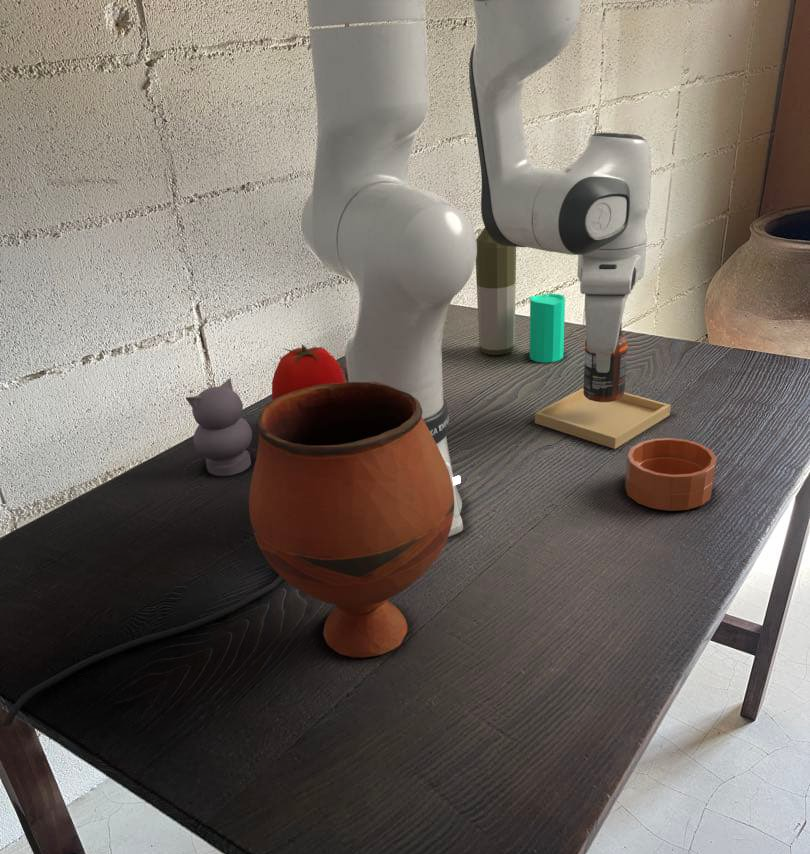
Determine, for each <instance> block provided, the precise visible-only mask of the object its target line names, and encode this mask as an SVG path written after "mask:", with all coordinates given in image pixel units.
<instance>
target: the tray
mask: <svg viewBox="0 0 810 854" xmlns="http://www.w3.org/2000/svg"><path fill="white" fill-rule="evenodd" d="M583 388H584V387H582V388H579V389H577V390H576V391H575V392H572V393H570V394H568V395H567V396H565V397H563V398H561V399H558V400H557V401H555V402H553V403H551V404H549V405H547V406H545V407H544V408H542V409H540V410H537V411H535V413H534V424H536V425H539V426H543V427H546V428H548V429H552V430H555V431H558V432H562V433H564V434H567V435H570V436H573V437H576V438H580V439H582V440H586V441H589V442H592V443H595V444H597V445H601V446H605V447H608V448H610V449H613V450H616V449H617V448H619V447H620V446H622V445H623V444H626V443H627V442H629V441H631V440H632V439H634V438H635V437H637V436H639V435H640V434H642V433H643V432H645V431H647V430H648V429H650V428H652V427H653V426H655V425H656V424H658V423H659V422H661V421H664V419H667V418H668V417H669V416H670V415H671V408H672V407H671V406H672V405H671V404H668V403H665V402H662V401H658V400H654V399H650V398H648V397H647V398H646V397H642V396H639V395H637V394H636V395H635V394H632V393H628V392H625V391H624V395H623V396H622V397H621V398H620V399H618V400H616V401H612V402H596V401H592V400H589V399H588V398H586V397H585V396H584V389H583Z"/></svg>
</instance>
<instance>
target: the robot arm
mask: <svg viewBox="0 0 810 854" xmlns="http://www.w3.org/2000/svg"><path fill="white" fill-rule="evenodd" d="M581 2H582V1H581V0H471V3H472V8H473V15H474V23H475V24H474V26H475V42H474V44H473V46H472V48H471V50H470V54H469V60H468V61H469V63H468V77H469V90H470V98H471V106H472V107H471V108H472V114H473V122H474V129H475V135H476V136H475V137H476V144H477V151H478V157H479V165H480V173H481V174H480V175H481V177H480V178H481V194H480V212H481V213H480V214H481V219H482V223H483V226H484V228H486V230H487V232H488V234H489V235H490V237H491V238H492V239H493V240H494V241H495V242H497V243H498V244H500V245H503V246H512V247H516V248H530V249H534V250H538V251H539V250H540V251H544V252H549V253H558V254H564V255H570V256H577V279H578V280H579V284H580V286H579V288H580V291H579V293H580V294H581V295H584V321H585V323H584V325H585V341H586V342H587V348H588V351H589V352H590V353H596V360H597V364H596V370H597V372H600V373H607V372H609V369H610V358H611V353H614V352H615V349H616V346H617V341H618V337H619V331H620V326H621V321H622V322H623V317H624V312H625V307H626V302H627V299H628V297H629V295H630V294H632V291H633V290H634V286H635V285H636V284H637V283H638V282H639V281H640V280H642V279H643V278H644V277H645V276H644V275H645V265H646V254H647V253H646V252H647V241H648V239H647V238H648V237H647V232H646V219H647V218H646V217H647V214H648V211H649V210H650V205H651V204H650V203H651V189H652V188H651V187H652V158H651V150H650V145H649V143H648V140H646V139H645V138H644V137H643V136H640V135H638V134H632V133H618V132H605V131H603V132H602V131H601V132H596V133H594V134H591V135H589V137H588V139H587V142H586V146H585V149H584V151H582V154H580V156H579V157H577V159H576V160H575V161H574V162H572V163H571V164H569V165H567V166H566V167H565V168H564V169H554V168H553V169H552V168H543V167H539V166H537V165H536V164H535V163H533V162H532V160H531V159H530V158H529V156H528V154H527V149H526V139H525V138H526V136H525V127H524V116H523V105H522V93H523V89H524V85H525V83H526V82H527V79H528V78H530V77H531V76H533V75H535V74H537V73H538V72H539V71H541V70H543V69H544V68H545V67H547V66H548V65H549V64H551V63H552V62H554V61H555V60H556V59H557V58H558V57H559V56H560V55H562V53H563V52H564V50H565V49H566V48H567V47H568V45H569V44H570V42H571V40H572V39H573V37H574V34H575V32H576V30H577V28H578V25H579V23H580V19H581V5H582V3H581ZM306 9H307V18H308V20H307V21H308V27H309V28H310V29H309V39H310V49H311V60H312V71H313V79H314V90H315V100H316V109H317V110H316V113H317V116H316V118H317V119H316V120H317V136H316V148H315V149H316V151H315V161H314V172H313V180H312V190H311V193H310V194H309V196H308V198H307V199H306V202H305V204H304V205H303V209H302V213H301V225H300V226H301V233H302V237H303V240H304V242H305V244H306V246H307V248H308V249H309V252H311V253H312V255H313V256H314V257H315V258H316V259H317V260H318V261H319V262H320V263H321V264H322V266H324V268H326V269H327V270H328V272H330V273H332V274H334V275H335V276H337V277H339V278H343V279H344V280H346V281H350V282H351V283H354V285H355V287H356V289H357V293H358V311H357V319H356V325H355V329H354V332H353V333H352V334H351V335H350V336H349V338H348V339H347V341H346V344H345V347H344V357H345V364H346V367H347V375H348V382H378V383H382V384H385V385H389V386H391V387H394V388H396V389H398V390H401V391H403V392H406V393H408V394H410V395H412V396H413V397H414V398H416V399H417V400H418V401H419V403H420V405H421V408H422V411H423V412H422V418H423V420H424V422H425V423H426V425H427V427H428V429H429V431H430V433H431V435H432V437H433V439H434V441H435V442H436V444H437V446H438V448H439V450H440V452H441V454H442V457H443V459H444V462H445V464H446V466H447V469H448V471H449V475H450V479H451V482H452V486H453V492H454V514H453V521H452V525H451V530H450V533H449V536H448V538H451V537H452V536H455V535H457V534H459V533H461V532H462V531H463V530H464V524H463V519H462V516H461V512H462V508H463V500H462V498H461V496H460V493H459V490H458V487H457V485H459V484H461V475H456V476H454V473H453V472H454V471H453V467H452V461H451V457H450V451H449V446H448V438H447V435H448V434H449V432H450V422H449V421H450V417H449V416H450V415H449V409H448V408H449V407H448V402H447V400H446V399H445V398H444V385H443V384H444V381H443V380H444V379H443V335H444V329H445V324H446V319H447V316H448V312H449V309H450V305H451V302H452V301H453V299H454V297H455V296H456V295H458V294H459V293H461V291H462V289H463V288H465V286H466V285H467V283H468V281H469V280H470V278H471V276H472V274H473V271H474V268H475V267H476V256H477V241H476V239H477V236H476V232H475V229H474V226H473V225H472V223H471V220H469V218H468V217H467V215H466V214H465V213H464V212H463V211H461V209H459V208H458V207H456V206H455V205H454V204H452V203H451V202H450V201H448V200H446V199H444V197H442V196H440V195H439V194H437V193H435V192H432V191H430V190H427V189H423V188H418V187H413V186H409V180H408V178H409V177H408V176H409V166H410V159H411V153H412V150H413V145H414V142H415V138H416V136H417V133H418V132H419V130H420V129H421V127H422V126H423V125H424V123H425V121H426V119H427V118H428V115H429V111H430V83H429V62H428V38H427V37H428V36H427V35H428V33H427V21H426V20H421V19H426V18H427V14H426V0H306ZM407 20H408V21H407ZM409 20H417V21H409ZM394 21H396V22H394ZM397 21H402V22H397ZM380 22H382V23H380ZM383 22H389V23H383ZM367 23H373V24H367ZM374 23H377V24H374ZM355 24H363V25H355ZM340 25H342V26H340ZM343 25H350V26H343ZM325 26H328V27H325ZM329 26H333V27H329ZM334 26H336V27H334ZM313 27H314V28H313ZM315 27H322V28H315ZM323 27H324V28H323ZM283 580H284V579H283V578H282V577H281V576H280V575H279V574H278V576H277V577H276V578H275V579H274V580H273V581H272V582H271V583H269V584H268V585H266V586H264V587H262V588H261V589H258V590H256V591H255V592H252V593H251V594H250V595H247V596H246V597H244V598H243V599H241V600H239V601H237V602H235V603H233V604H232V605H230V606H228V607H226V608H223V609H221V610H218V611H217V612H214V613H212V614H209V615H206V616H204V617H201V618H199V619H196V620H194V621H191V622H189V623H185V624H182V625H179V626H176V627H173V628H169V629H166V630H162V631H158V632H155V633H152V634H148V635H144V636H142V637H138V638H135V639H132V640H130V641H127V642H124V643H122V644H119V645H116V646H114V647H111V648H109V649H106V650H104V651H101V652H99V653H96V654H93V655H91V656H90V657H87V658H85V659H83V660H81V661H79V662H77V663H74V664H73V665H71V666H70V667H68V668H66V669H64V670H62V671H60V672H59V673H57V674H55V675H54V676H52V677H50V678H48V679H45V680H44V681H42V682H41V683H38V684H36V685H35V686H33V687H32V688H30V689H29V690H27V691H26V692H25V693H24V694H22V695H21V696H20V697H19V698H18V700H17V701H15V703H14V704H13V706H12V707H11V708H10V710H9V711H8V713H7V715H6V716H5V719H4V721H3V724H2V726H3V727H4V728H6V727H8V726H10V725H12V724H13V721H14V719H15V717H16V716H17V714H18V712H19V711H20V710H21V709H22V707H23V706H24V705H25V704H26V703H27V702H28V701H29V700H30V699H32V698H33V697H34V696H36V695H37V694H39V693H41V692H43V691H44V690H46V689H48V688H49V687H51V686H54V685H55V684H57V683H59V682H60V681H63V680H65V679H66V678H68V677H69V676H71V675H73V674H75V673H76V672H78V671H80V670H83V669H84V668H87V667H88V666H90V665H92V664H95V663H97V662H100V661H102V660H104V659H106V658H110V657H111V656H114V655H117V654H120V653H122V652H125V651H128V650H131V649H133V648H136V647H138V646H141V645H144V644H147V643H150V642H154V641H158V640H161V639H165V638H168V637H172V636H175V635H178V634H181V633H185V632H188V631H190V630H193V629H196V628H198V627H201V626H203V625H206V624H208V623H212V622H213V621H216V620H219V619H221V618H223V617H225V616H228V615H230V614H232V613H234V612H235V611H238V610H240V609H241V608H243V607H245V606H247V605H248V604H250V603H252V602H253V601H255V600H257V599H258V598H261V597H262V596H265V595H266V594H268V593H269V592H271V591H272V590H273V589H275V587H276V586H278V585H279V584H280V583H281V582H282V581H283ZM12 802H13V805H14V808H15V809H14V810H15V811H16V815H17V817H18V821H19V823H20V826H21V829H22V831H23V833H24V836H25V838H26V840H27V843H28V845H29V846H30V849H31V851H32V853H33V854H43V851H42V850H41V848H40V846H39V844H38V842H37V840H36V838H35V835H34V833H33V830H32V827H31V825H30V822H29V820H28V818H27V817H26V815H25V814H24V813H23V811H22V810H21V808H20V807H19V805H18V804H17V803H16V801H15V800H14V799H12Z"/></svg>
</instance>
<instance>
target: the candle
mask: <svg viewBox="0 0 810 854" xmlns="http://www.w3.org/2000/svg"><path fill="white" fill-rule="evenodd" d="M565 312H566V298H565V295H564V294H560V293H549V289H548V288H546V293H545V294H538V295H531V296H529V359H530V360H531V361H534V362H537V363H554V362H558V361H561V360H562V359H563V358H564V350H565V349H564V348H565V346H564V345H565V317H566V313H565Z"/></svg>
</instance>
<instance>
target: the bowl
mask: <svg viewBox="0 0 810 854" xmlns="http://www.w3.org/2000/svg"><path fill="white" fill-rule="evenodd" d="M717 460H718V458H717V456H716V455H715V453H714V452H713V450H712V449H710V448H709V447H707V446H705V445H704V444H702V443H700V442H696V441H692V440H689V439H683V438H674V437H661V438H659V437H658V438H652V439H647V440H643V441H640V442H638V443H636V444H635V445H633V446H632V447H630V449H629V451H628V453H627V456H626V465H625V466H626V467H625V479H624V480H625V482H624V489H625V491H626V494H627V496H628V497H629V498H630V499H632V500H633V501H635V503H637V504H639V505H642V506H645V507H647V508H650V509H655V510H659V511H668V512H669V511H670V512H674V511H675V512H679V511H688V510H692V509H696V508H699V507H701V506H704V505H705V504H706V503H707V502H709V501H710V500H711V497H712V493H713V488H714V481H715V473H716V468H717Z"/></svg>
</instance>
